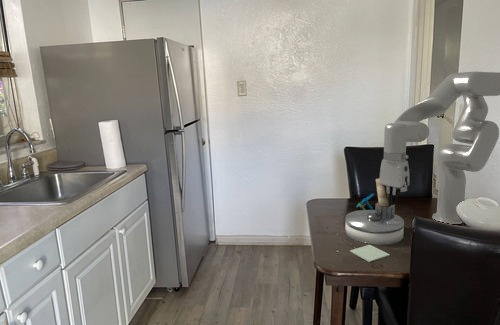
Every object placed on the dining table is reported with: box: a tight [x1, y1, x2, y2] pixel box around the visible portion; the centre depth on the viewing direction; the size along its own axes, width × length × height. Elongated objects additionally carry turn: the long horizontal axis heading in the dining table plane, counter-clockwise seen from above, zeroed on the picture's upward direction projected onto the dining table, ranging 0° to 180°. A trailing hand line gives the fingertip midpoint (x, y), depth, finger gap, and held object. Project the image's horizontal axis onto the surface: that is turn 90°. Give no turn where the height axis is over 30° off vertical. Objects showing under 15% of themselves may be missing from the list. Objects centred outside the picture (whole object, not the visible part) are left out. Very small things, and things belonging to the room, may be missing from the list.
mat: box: [349, 244, 391, 263], centre depth 117 cm, size 9×9×1 cm
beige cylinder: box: [375, 177, 390, 207], centre depth 136 cm, size 4×4×14 cm
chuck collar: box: [345, 201, 405, 233], centre depth 132 cm, size 21×21×6 cm
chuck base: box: [344, 223, 405, 246], centre depth 133 cm, size 21×21×4 cm
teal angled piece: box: [355, 192, 375, 210], centre depth 161 cm, size 11×6×10 cm
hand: (392, 203), depth 132 cm, fingers closed
